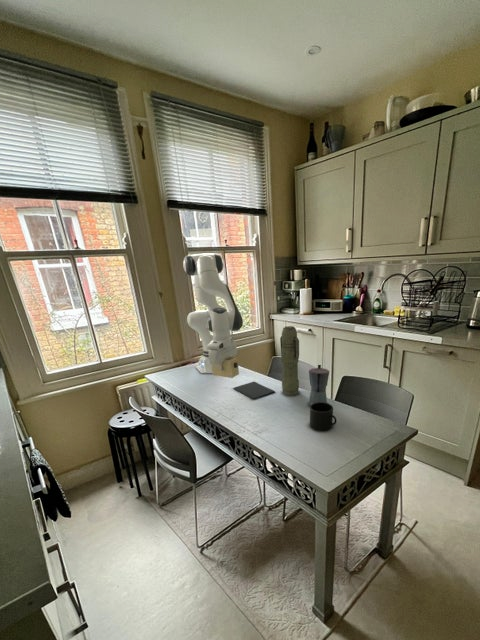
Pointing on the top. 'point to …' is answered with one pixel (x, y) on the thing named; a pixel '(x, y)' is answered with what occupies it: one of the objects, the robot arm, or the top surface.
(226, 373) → the toaster
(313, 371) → the moka pot
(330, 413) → the mug
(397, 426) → the top surface
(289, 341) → the thermos
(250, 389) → the mat
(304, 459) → the top surface
